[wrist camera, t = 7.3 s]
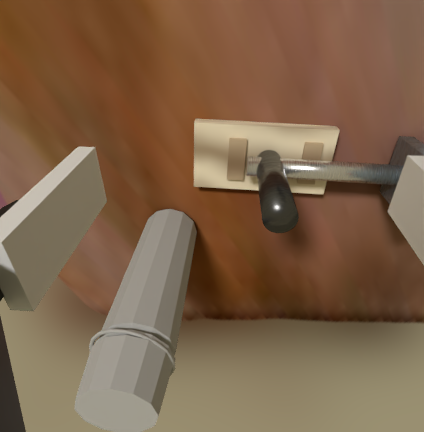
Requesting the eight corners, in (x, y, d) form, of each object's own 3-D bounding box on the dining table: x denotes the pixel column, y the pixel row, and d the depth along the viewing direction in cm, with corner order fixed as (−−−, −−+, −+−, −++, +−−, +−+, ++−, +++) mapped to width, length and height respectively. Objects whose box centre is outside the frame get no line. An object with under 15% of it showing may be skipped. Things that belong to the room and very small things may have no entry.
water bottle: (179, 195, 43) (124, 374, 22) (208, 238, 46) (185, 428, 25) (124, 221, 46) (29, 401, 25) (155, 260, 49) (95, 447, 28)
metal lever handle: (243, 183, 40) (246, 249, 29) (249, 127, 37) (255, 179, 26) (392, 192, 40) (453, 263, 29) (413, 137, 36) (493, 193, 25)
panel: (195, 118, 37) (193, 123, 36) (336, 126, 37) (340, 131, 35) (195, 181, 42) (193, 188, 40) (320, 188, 41) (324, 196, 39)
